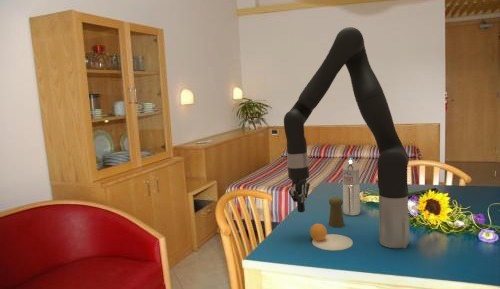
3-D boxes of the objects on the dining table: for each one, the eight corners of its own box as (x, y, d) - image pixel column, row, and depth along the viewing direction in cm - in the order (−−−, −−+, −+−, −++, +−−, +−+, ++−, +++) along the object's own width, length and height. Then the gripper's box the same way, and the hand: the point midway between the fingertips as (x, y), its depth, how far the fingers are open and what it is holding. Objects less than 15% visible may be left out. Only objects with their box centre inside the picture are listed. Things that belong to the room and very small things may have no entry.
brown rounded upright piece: (344, 227, 155) (343, 200, 153) (328, 227, 156) (327, 200, 154) (344, 222, 161) (343, 195, 159) (328, 221, 162) (327, 195, 160)
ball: (312, 222, 148) (317, 238, 148) (305, 227, 143) (309, 243, 143) (327, 220, 144) (331, 236, 144) (319, 225, 140) (324, 242, 139)
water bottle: (363, 214, 168) (362, 155, 164) (349, 217, 166) (348, 157, 162) (353, 209, 175) (352, 153, 171) (340, 212, 172) (338, 155, 168)
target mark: (358, 238, 144) (358, 238, 144) (344, 253, 132) (344, 253, 132) (321, 232, 151) (321, 231, 151) (305, 246, 140) (305, 245, 140)
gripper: (299, 169, 136) (303, 218, 139) (315, 161, 147) (318, 207, 150) (280, 168, 140) (283, 216, 143) (296, 161, 151) (299, 205, 154)
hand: (301, 211), depth 146 cm, fingers closed
